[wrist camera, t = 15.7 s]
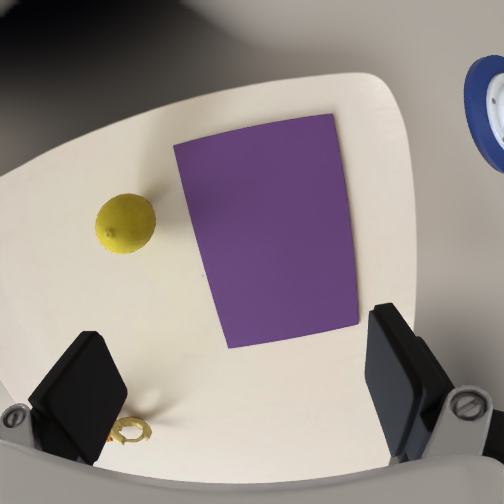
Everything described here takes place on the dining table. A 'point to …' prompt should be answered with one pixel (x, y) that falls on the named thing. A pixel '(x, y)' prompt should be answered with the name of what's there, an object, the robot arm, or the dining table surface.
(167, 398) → the dining table surface
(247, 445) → the dining table surface
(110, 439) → the ornament
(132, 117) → the dining table surface
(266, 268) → the cloth
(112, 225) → the lemon
